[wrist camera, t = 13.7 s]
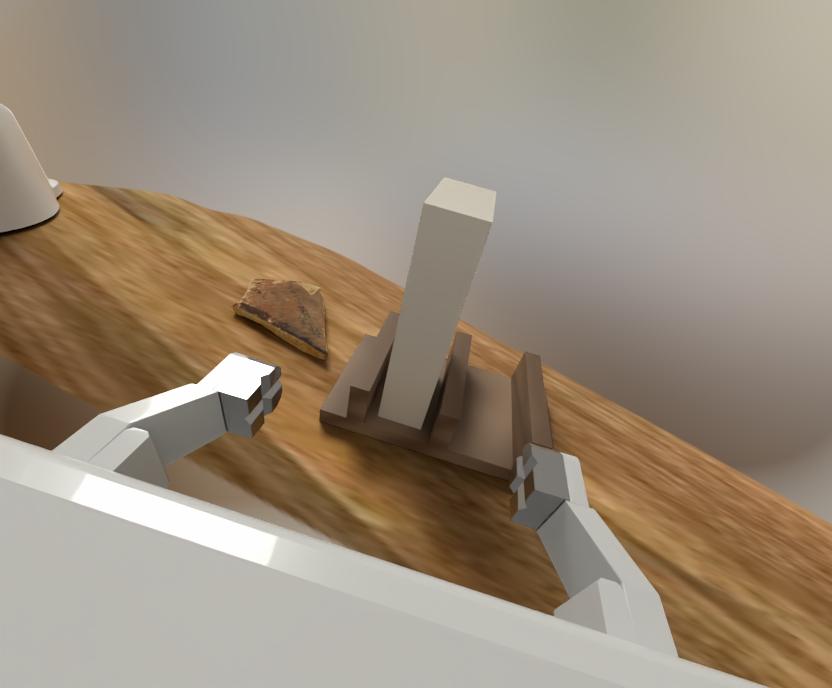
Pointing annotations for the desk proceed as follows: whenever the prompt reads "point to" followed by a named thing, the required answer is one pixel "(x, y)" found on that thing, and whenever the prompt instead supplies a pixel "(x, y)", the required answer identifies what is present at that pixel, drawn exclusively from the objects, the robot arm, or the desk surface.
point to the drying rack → (447, 406)
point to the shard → (288, 312)
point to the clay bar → (435, 295)
